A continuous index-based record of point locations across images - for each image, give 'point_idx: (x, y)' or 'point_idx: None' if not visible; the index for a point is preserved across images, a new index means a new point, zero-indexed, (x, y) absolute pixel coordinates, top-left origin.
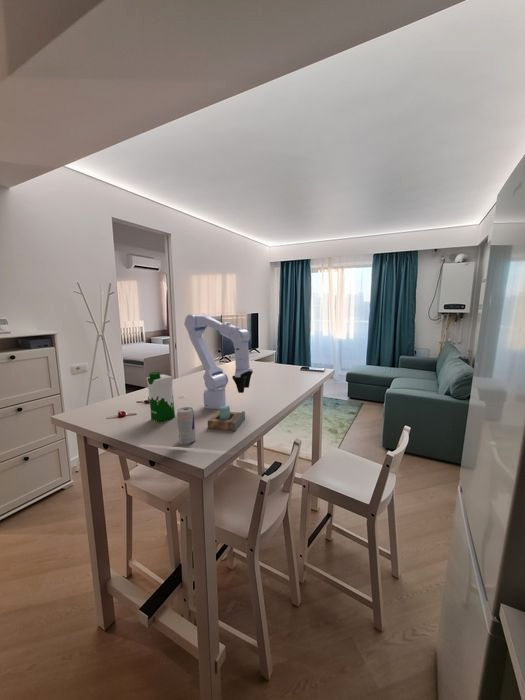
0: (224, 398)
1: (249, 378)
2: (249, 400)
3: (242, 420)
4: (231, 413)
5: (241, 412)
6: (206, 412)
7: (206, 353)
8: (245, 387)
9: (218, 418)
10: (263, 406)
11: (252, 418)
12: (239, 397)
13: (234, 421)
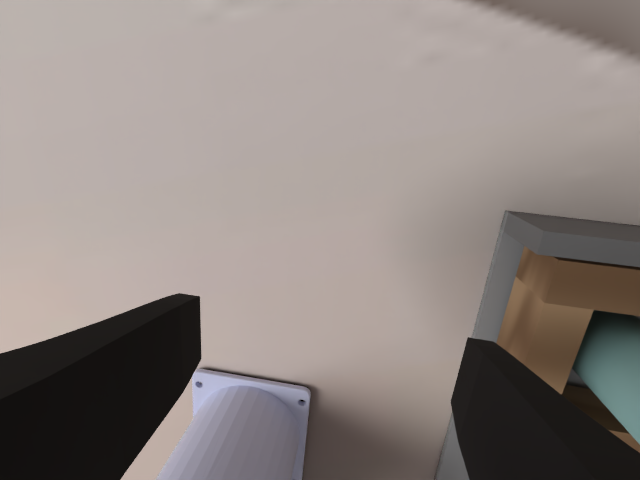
0: (235, 443)
1: (59, 379)
2: (72, 248)
3: (597, 226)
4: (568, 339)
5: (571, 257)
6: (334, 470)
7: None
8: (199, 340)
9: (584, 408)
10: (176, 112)
11: (452, 161)
12: (33, 325)
13: None
